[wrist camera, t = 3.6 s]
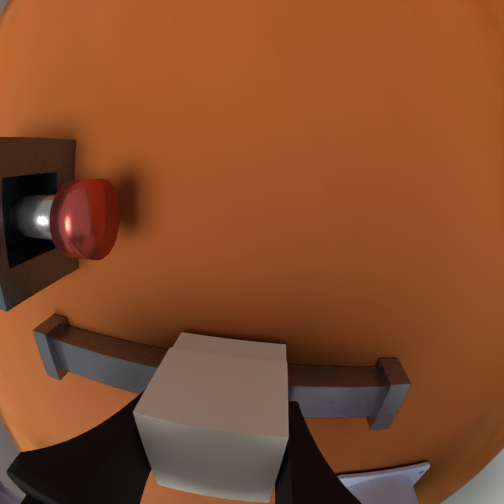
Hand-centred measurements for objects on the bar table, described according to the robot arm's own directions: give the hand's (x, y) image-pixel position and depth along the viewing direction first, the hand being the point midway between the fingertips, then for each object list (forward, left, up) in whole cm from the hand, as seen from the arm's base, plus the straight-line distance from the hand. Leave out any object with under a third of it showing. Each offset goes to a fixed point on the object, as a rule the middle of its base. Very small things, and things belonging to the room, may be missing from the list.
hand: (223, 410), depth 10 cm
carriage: (0, 0, -2) cm, 2 cm away
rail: (0, +1, -2) cm, 3 cm away
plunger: (+7, +6, -1) cm, 10 cm away
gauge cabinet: (+7, +10, -2) cm, 13 cm away
